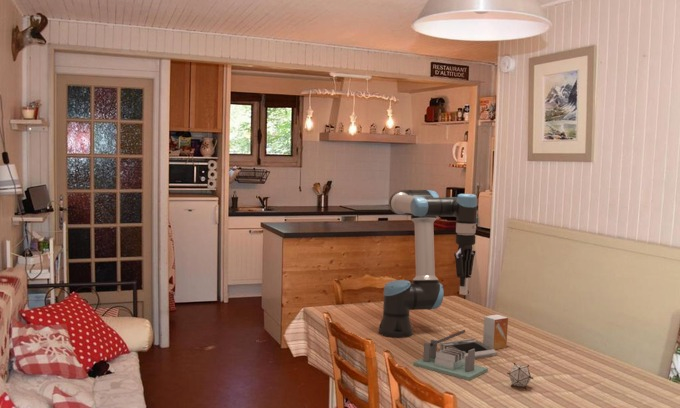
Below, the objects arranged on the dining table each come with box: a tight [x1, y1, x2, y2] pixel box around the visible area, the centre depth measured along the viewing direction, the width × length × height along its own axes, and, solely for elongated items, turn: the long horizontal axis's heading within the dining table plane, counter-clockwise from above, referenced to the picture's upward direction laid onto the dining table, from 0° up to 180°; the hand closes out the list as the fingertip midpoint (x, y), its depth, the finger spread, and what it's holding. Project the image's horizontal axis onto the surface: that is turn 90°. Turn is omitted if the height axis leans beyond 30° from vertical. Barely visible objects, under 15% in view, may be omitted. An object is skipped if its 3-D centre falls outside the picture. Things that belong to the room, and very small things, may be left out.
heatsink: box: [435, 347, 465, 370], centre depth 251 cm, size 8×9×6 cm
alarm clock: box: [439, 337, 498, 360], centre depth 271 cm, size 17×5×16 cm
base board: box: [412, 338, 489, 381], centre depth 250 cm, size 24×14×9 cm, turn 50°
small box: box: [482, 314, 509, 351], centre depth 280 cm, size 8×6×13 cm
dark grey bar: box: [430, 329, 466, 346], centre depth 252 cm, size 17×3×2 cm, turn 50°
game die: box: [506, 362, 534, 390], centre depth 233 cm, size 9×8×10 cm
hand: (463, 294), depth 258 cm, fingers closed
